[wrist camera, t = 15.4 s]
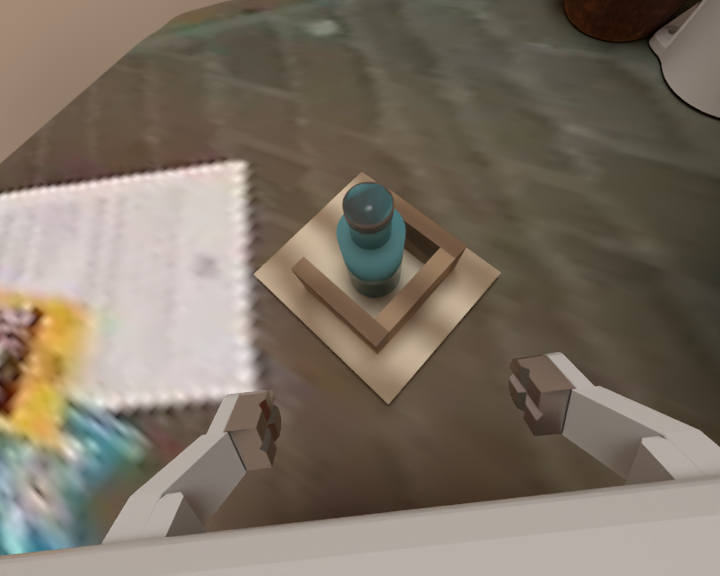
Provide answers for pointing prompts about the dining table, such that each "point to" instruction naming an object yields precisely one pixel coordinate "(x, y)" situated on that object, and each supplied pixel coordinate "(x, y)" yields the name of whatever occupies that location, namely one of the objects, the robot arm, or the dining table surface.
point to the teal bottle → (371, 239)
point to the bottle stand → (382, 314)
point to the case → (620, 17)
